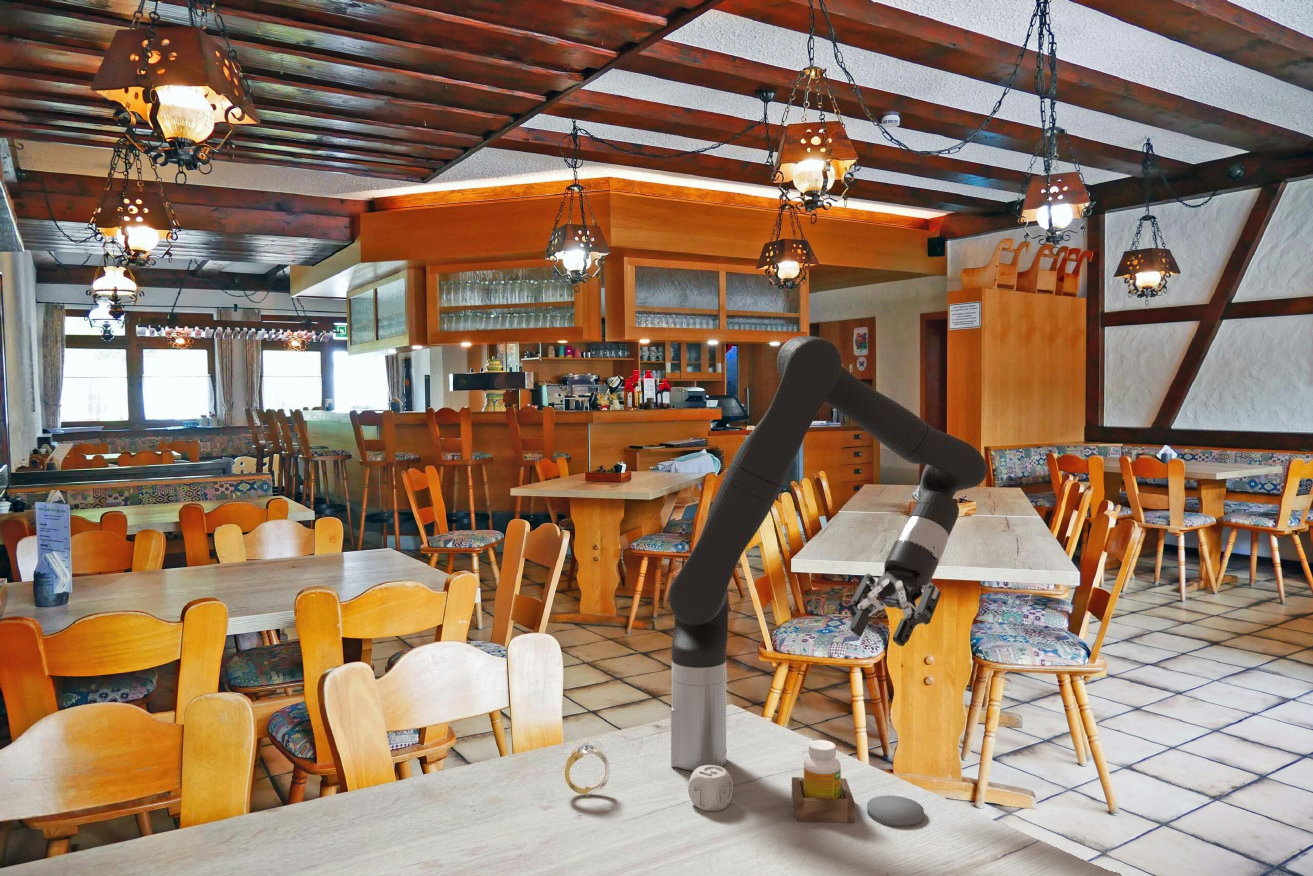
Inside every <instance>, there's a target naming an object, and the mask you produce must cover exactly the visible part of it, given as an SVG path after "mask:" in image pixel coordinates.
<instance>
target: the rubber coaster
mask: <svg viewBox="0 0 1313 876" xmlns="http://www.w3.org/2000/svg"><path fill="white" fill-rule="evenodd" d="M866 805H867V807H866V808H867V809H866V811H867V812H866V813H867V815H868V816H869V818H871V819H872V820H873V821H876V822H877V823H880V824H882V825H886V826H890V827H898V828H908V827H914V826H917V825H919V824H921V823H922V822H923V821H924V819H925V817H924V816H925V810H924V807H923V806H922V805H921V804H920V803H919V802H917V801H915V800H913V799H911V798H909V797H904V796H899V795H889V794H888V795H880V796H879V795H878V796H875V797H873V798H870V799H869V800H868V802H867V803H866Z"/></svg>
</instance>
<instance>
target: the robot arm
mask: <svg viewBox="0 0 1313 876" xmlns="http://www.w3.org/2000/svg"><path fill="white" fill-rule="evenodd" d="M776 368H777V371H778V374H779V377H780V379H781V380H780V383H779V384H778V387H777V390H776V392H775V395H774V396H773V399H772V401H771V404H770V406H769V407H768V409H767V411H766V412H765V413H764V415H763V417H762V418H761V420H760V421H758V423H757V425H756V426H755V427H754V428H753V429H752V431H750V433H749V434H747V437H746V438H745V439H744V440H743V442H742V443H741V445H740V446H739V448H738V449H737V451H736V452H735V454H734V456H733V458H732V460H731V461H730V464H729V466H728V468H727V470H726V472H725V474H724V476H723V478H722V480H721V483H720V485H719V487H718V490H717V493H716V494H715V497H714V500H713V502H712V504H711V507H710V510H709V512H708V515H707V518H706V521H705V523H704V526H703V529H702V531H701V534H700V536H699V538H698V540H697V542H696V544H695V545H694V547H693V548H692V550H691V553H690V554H689V556H688V557H687V559H686V561H685V562H684V564H683V565H682V567H681V569H680V570H679V572H678V573H677V574H676V575H675V577H674V578H673V580H672V581H671V582H670V583H671V584H670V586H669V590H668V603H669V607H670V610H671V612H672V614H673V616H674V628H673V636H672V640H671V641H672V642H671V706H670V707H671V708H670V767H672V768H680V769H682V770H686V771H692V772H694V770H695V769H696V768H698V767H700V766H704V765H716V766H720V767H723V766H725V765H726V763H727V752H728V751H727V648H728V635H729V629H728V628H729V584H730V582H731V580H732V578H733V574H734V572H735V569H736V567H737V564H738V562H739V561H740V559H741V557H742V555H743V554H744V552H745V550H746V548H747V547H748V545H749V544H750V542H751V541H752V540H753V538H754V537H755V535H756V534H757V532H758V530H759V529H760V528H761V526H762V524H763V523H764V521H765V519H766V518H767V516H768V514H769V513H770V511H771V509H772V507H773V506H774V503H775V502H776V500H777V497H778V496H779V494H780V492H781V490H782V488H783V486H784V483H785V481H786V479H787V476H788V474H789V473H790V471H791V468H792V466H793V463H794V462H795V460H796V457H797V456H798V453H799V451H800V449H801V447H802V444H803V442H804V439H805V438H806V434H807V433H808V430H809V429H810V427H811V425H812V423H813V422H814V420H815V418H816V416H817V415H818V413H819V411H820V410H821V409H822V408H823V406H824V404H828V406H830V407H832V408H834V409H835V410H837V411H838V412H840V414H843V415H844V416H845V417H847V418H849V419H850V420H851V421H852V422H853V423H855V424H856V425H857V426H859V427H860V428H862V429H863V430H864V431H865V432H866V433H867V434H869V435H871V436H872V437H873V438H874V439H875V440H877V441H878V442H879V443H881V444H882V445H884V446H885V447H886V448H887V449H889V450H891V452H893V453H895V454H896V455H898V456H899V457H900V458H902V459H903V460H905V461H906V462H909V463H911V464H913V465H920V464H922V465H925V466H924V469H923V470H922V474H921V478H920V482H919V488H918V494H917V500H916V501H915V503H914V504H913V507H912V510H911V511H910V513H909V515H908V518H907V519H906V521H905V523H904V524H903V525H902V527H901V529H900V531H899V532H898V535H897V537H896V539H895V540H894V543H893V545H892V546H891V549H890V551H889V553H888V556H887V557H886V559H885V562H884V564H883V565H884V571H883V574H882V575H881V576H880V577H875V576H873V575H872V574H870V573H866V574H865V575H864V576H863V578H862V580H861V582H860V583H859V585H858V587H857V588H856V590H855V593H854V594H853V596H852V598H851V600H850V605H852V606H853V607H854V608H856V609H857V610H856V614H855V615H854V618H853V619H852V621H851V623H850V632H851V633H852V634H853V635H855V636H856V637H859V638H860V637H862V636H863V634H864V632H865V630H866V628H867V626H868V623H869V621H870V619H871V616H872V615H873V614H875V613H876V612H878V611H883V610H884V609H885V608H897V609H899V610H902V613H903V616H904V617H903V618H901V619H900V621H899V623H898V625H897V627H896V630H894V631H895V632H894V634H893V636H892V641H893V643H895V644H896V645H897V646H900V647H904V646H905V644H907V643H908V642H909V640H910V637H911V635H912V634H913V632H914V630H915V628H916V627H917V626H918V625H921V624H924V625H926V626H927V625H929V624H930V623H931V620H932V618H933V615H934V613H935V610H936V607H937V605H938V602H939V600H940V598H941V595H942V592H941V590H939V588H938V587H937V586H936V585H935V584H933V582H931V581H932V579H933V576H934V574H935V573H936V570H937V568H938V565H939V564H940V562H941V560H942V559H941V558H942V556H943V555H944V552H945V550H946V547H947V543H948V540H949V538H950V536H951V533H952V530H953V529H954V526H955V524H956V522H957V519H958V517H959V513H960V507H959V504H958V502H957V501H956V500H955V499H954V496H955V495H956V493H957V492H959V491H963V490H967V489H972V488H975V487H977V486H979V485H981V484H982V483H983V482H984V481H985V479H986V477H987V474H988V464H987V462H986V460H985V457H984V456H983V454H982V453H981V451H979V450H978V449H977V448H976V447H974V446H973V445H971V444H969V442H966V441H965V440H961V439H960V438H958V437H955V436H953V435H951V434H949V433H946V432H944V431H941V430H939V429H936V428H934V427H932V426H931V425H930V424H929V423H927V422H926V421H924V420H923V419H922V418H920V417H918V415H916V414H914V413H913V412H912V411H911V410H909V409H908V408H906V407H904V405H901V404H900V403H898V402H897V401H896V400H893V399H892V398H890V397H888V396H887V395H885V394H883V393H881V392H879V391H878V390H877V389H874V388H873V387H871V386H869V385H868V384H866V383H865V382H863V381H862V380H860V379H859V378H858V377H856V376H855V375H853V374H852V373H851V372H849V370H848V369H846V368H845V367H844V366H843V359H842V355H841V352H840V350H839V349H838V346H836V345H835V344H834V343H833V342H831V341H830V340H828V339H826V338H823V337H818V336H814V335H813V336H812V335H799V336H796V337H793V338H791V339H789V340H787V341H786V342H785V343H784V344H783V345H782V346H781V347H780V349H779V351H778V354H777V357H776ZM877 597H879V598H878V599H879V600H878V599H877ZM917 600H919V603H918V604H917ZM871 604H872V605H871Z"/></svg>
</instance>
